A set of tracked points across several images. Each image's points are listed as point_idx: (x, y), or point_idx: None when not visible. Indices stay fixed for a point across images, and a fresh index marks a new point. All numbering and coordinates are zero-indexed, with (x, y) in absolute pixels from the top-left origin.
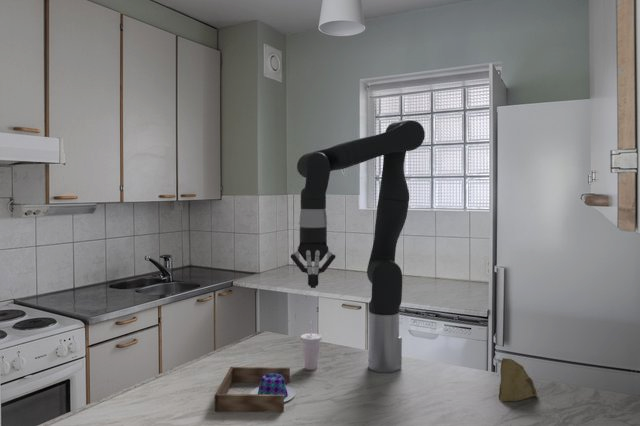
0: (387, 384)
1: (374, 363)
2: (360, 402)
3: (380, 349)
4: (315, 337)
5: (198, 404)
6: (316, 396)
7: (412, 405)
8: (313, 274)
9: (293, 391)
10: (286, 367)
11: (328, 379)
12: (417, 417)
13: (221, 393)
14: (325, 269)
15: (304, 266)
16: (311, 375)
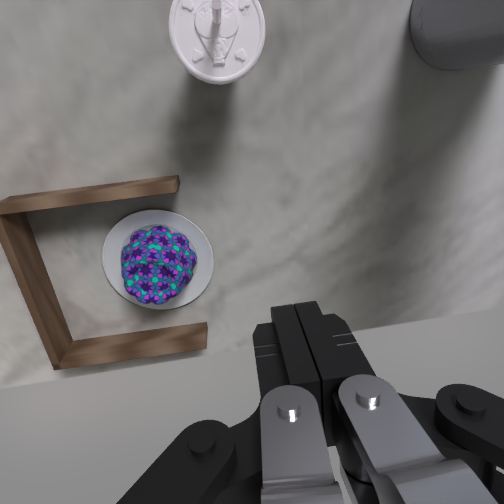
0: (440, 155)
1: (436, 57)
2: (362, 263)
3: (488, 62)
4: (240, 43)
5: (14, 327)
6: (263, 250)
7: (468, 259)
8: (326, 423)
9: (205, 241)
10: (163, 185)
11: (284, 144)
12: (462, 304)
13: (55, 336)
14: (498, 489)
15: (215, 497)
16: (231, 120)
